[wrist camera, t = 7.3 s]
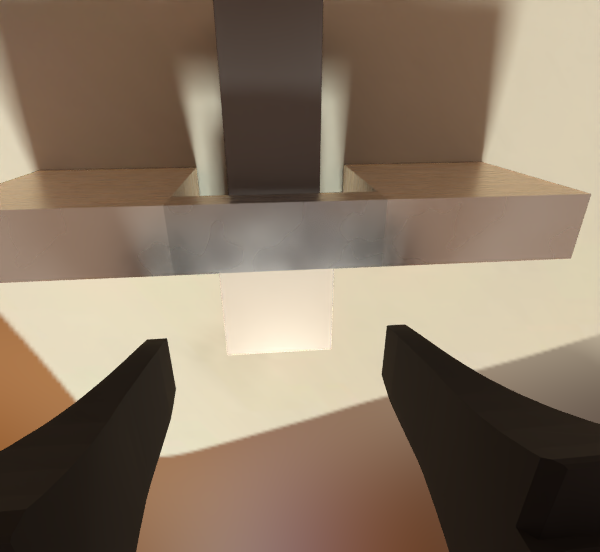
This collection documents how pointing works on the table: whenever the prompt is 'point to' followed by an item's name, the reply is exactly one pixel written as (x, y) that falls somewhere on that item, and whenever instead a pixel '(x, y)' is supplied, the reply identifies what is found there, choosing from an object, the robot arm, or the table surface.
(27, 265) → the grey bridge block
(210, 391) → the table surface
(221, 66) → the plug
